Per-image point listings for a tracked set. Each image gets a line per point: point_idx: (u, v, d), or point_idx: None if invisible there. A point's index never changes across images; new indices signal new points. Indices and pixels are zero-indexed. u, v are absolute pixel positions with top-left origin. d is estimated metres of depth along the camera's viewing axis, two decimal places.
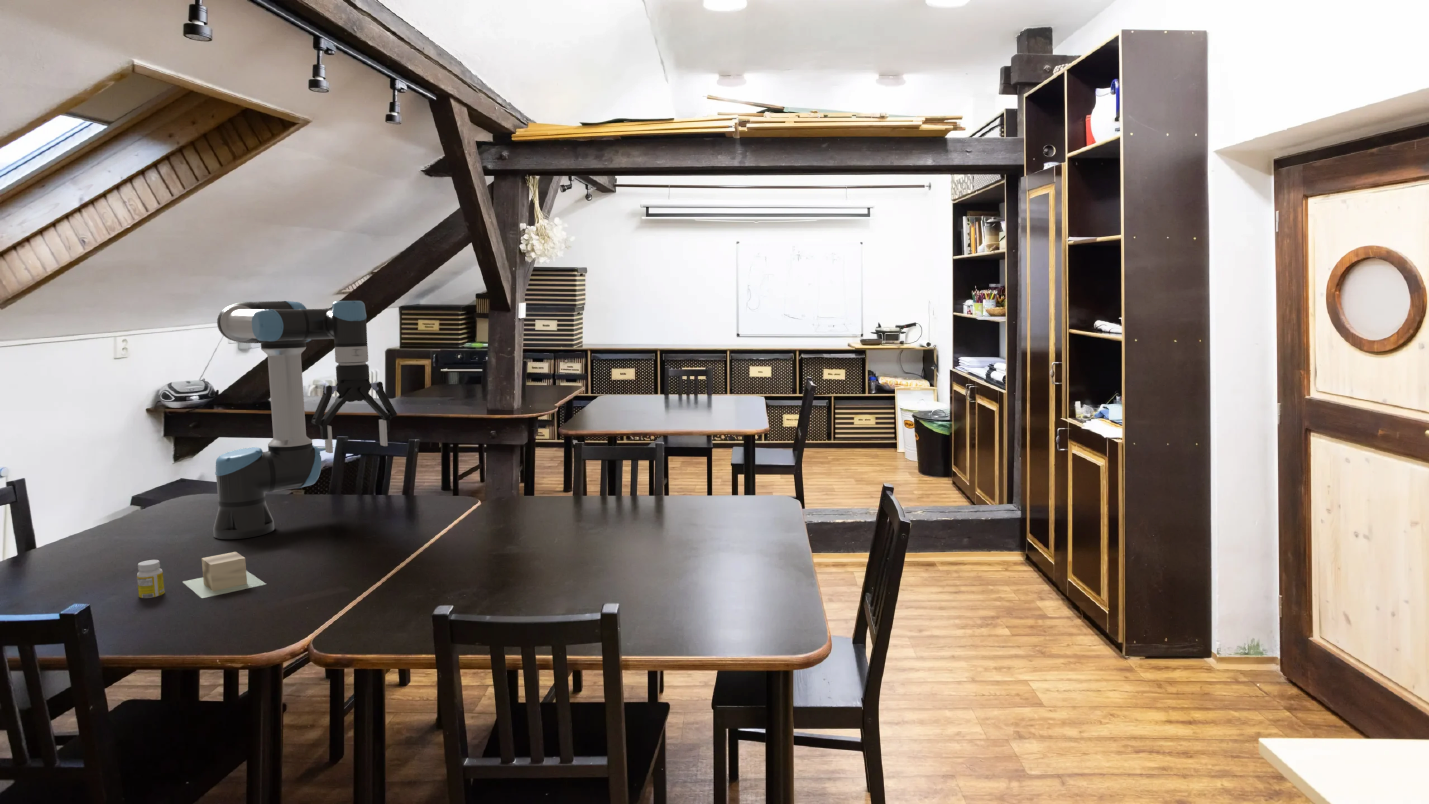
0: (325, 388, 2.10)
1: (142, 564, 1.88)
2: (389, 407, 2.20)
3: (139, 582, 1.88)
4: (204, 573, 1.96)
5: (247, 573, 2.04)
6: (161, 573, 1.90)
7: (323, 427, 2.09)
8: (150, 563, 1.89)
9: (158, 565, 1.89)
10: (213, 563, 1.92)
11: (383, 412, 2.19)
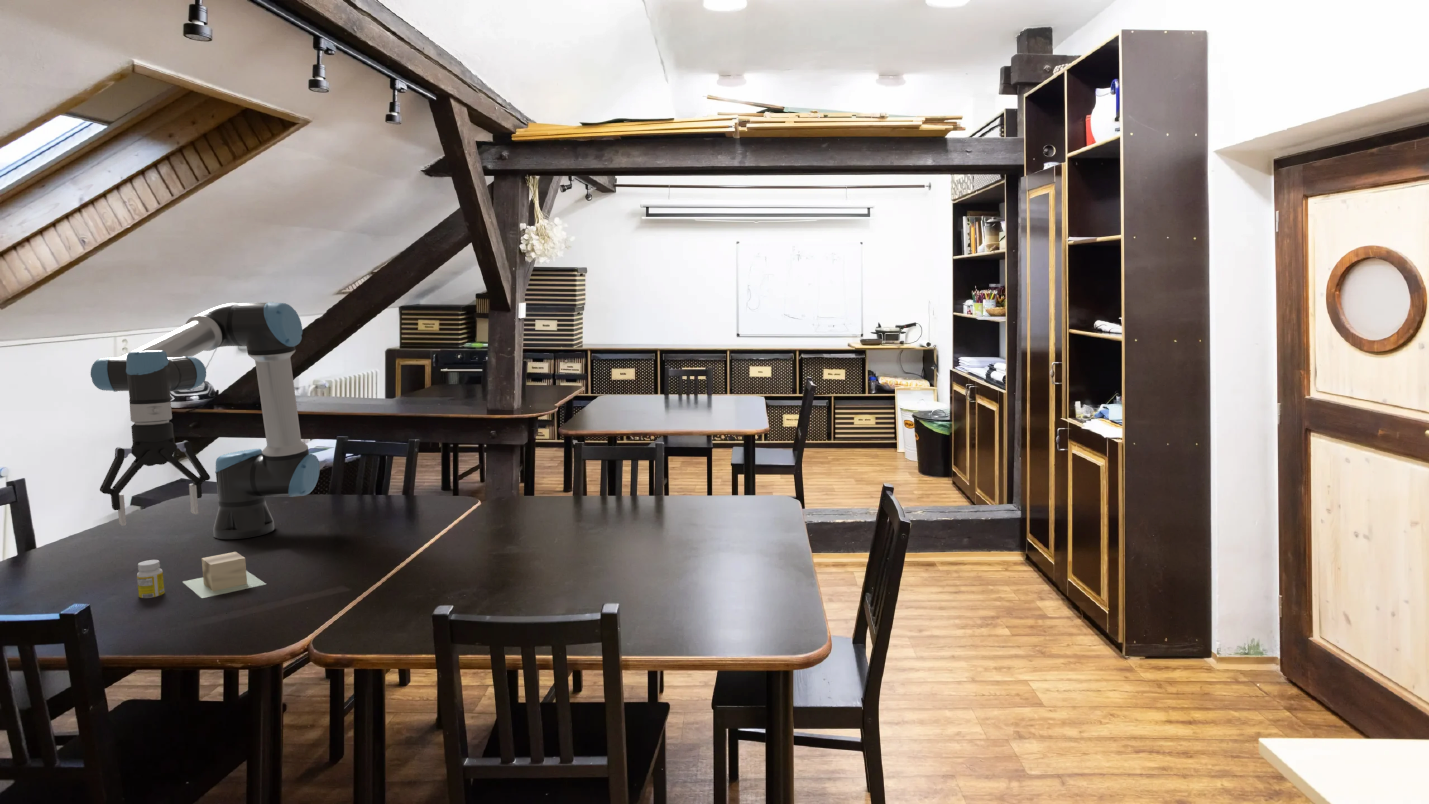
0: (116, 451, 1.83)
1: (142, 564, 1.88)
2: (200, 470, 1.94)
3: (139, 582, 1.88)
4: (204, 573, 1.96)
5: (247, 573, 2.04)
6: (161, 573, 1.90)
7: (113, 496, 1.83)
8: (150, 563, 1.89)
9: (158, 565, 1.89)
10: (213, 563, 1.92)
11: (192, 476, 1.93)
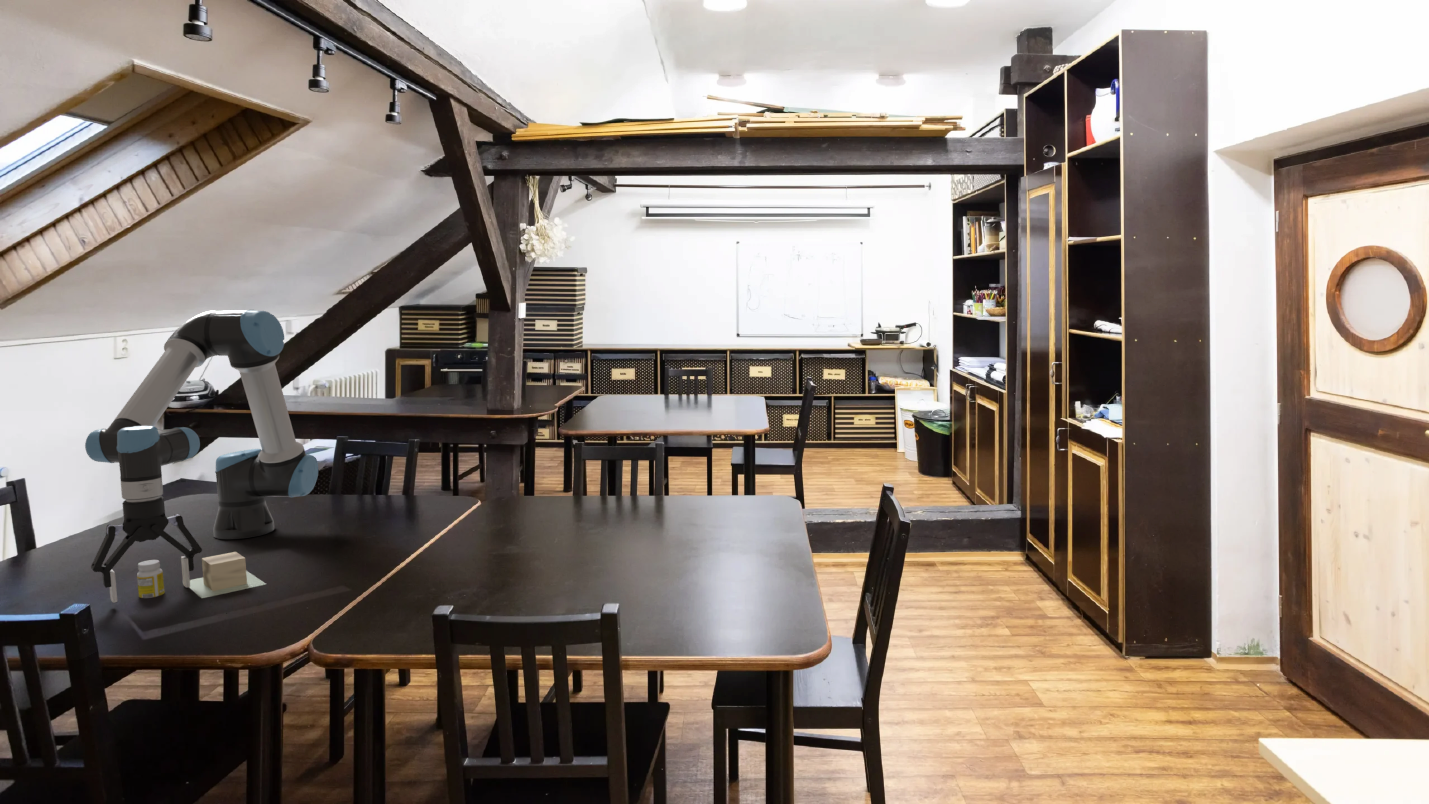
0: (107, 529, 1.84)
1: (142, 564, 1.88)
2: (192, 543, 1.94)
3: (139, 582, 1.88)
4: (204, 573, 1.96)
5: (247, 573, 2.04)
6: (161, 573, 1.90)
7: (104, 574, 1.83)
8: (150, 563, 1.89)
9: (158, 565, 1.89)
10: (213, 563, 1.92)
11: (184, 549, 1.93)
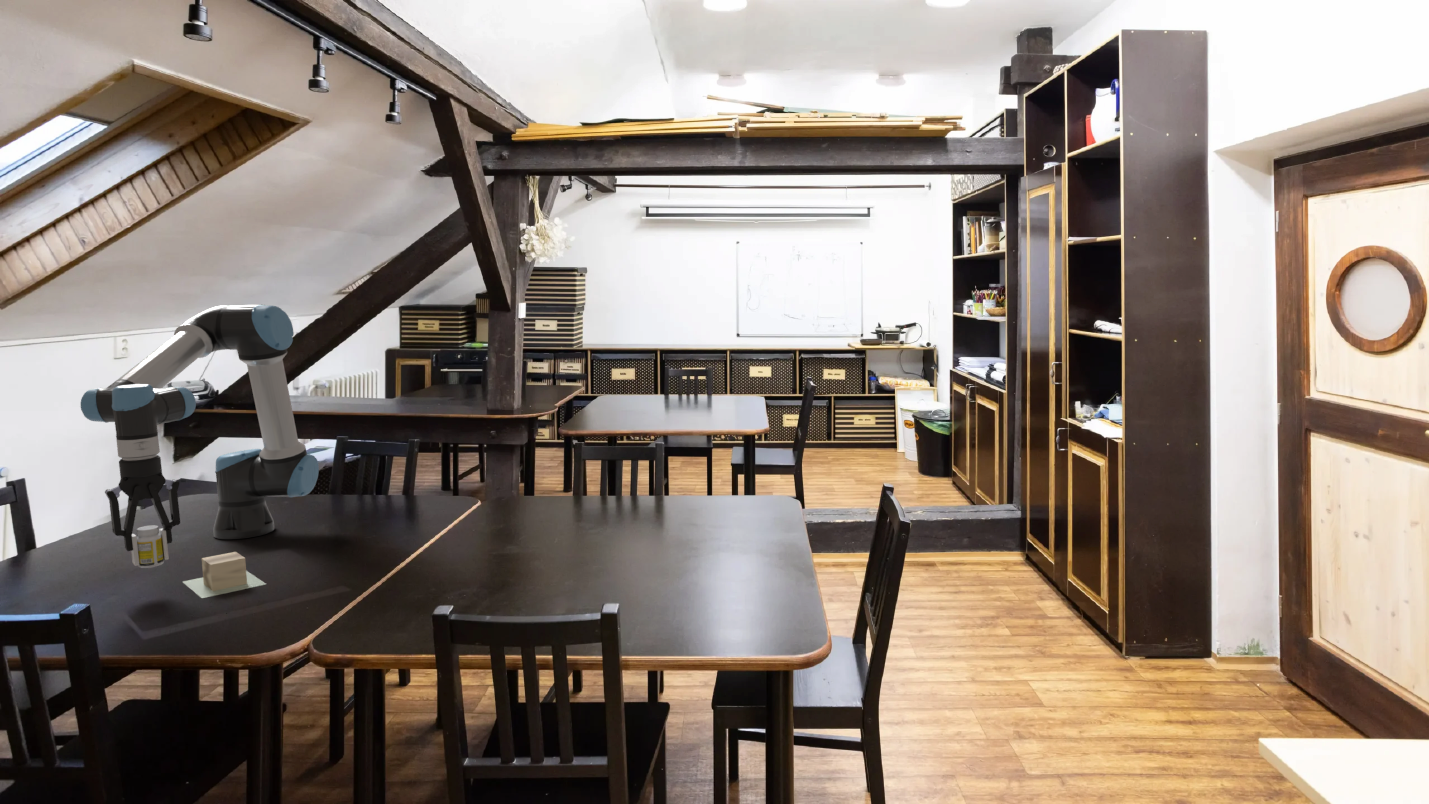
0: (106, 495, 1.83)
1: (141, 529, 1.88)
2: (174, 512, 1.91)
3: (138, 547, 1.87)
4: (204, 573, 1.96)
5: (247, 573, 2.04)
6: (160, 538, 1.90)
7: (126, 537, 1.86)
8: (149, 528, 1.88)
9: (156, 530, 1.89)
10: (213, 563, 1.92)
11: (165, 519, 1.90)
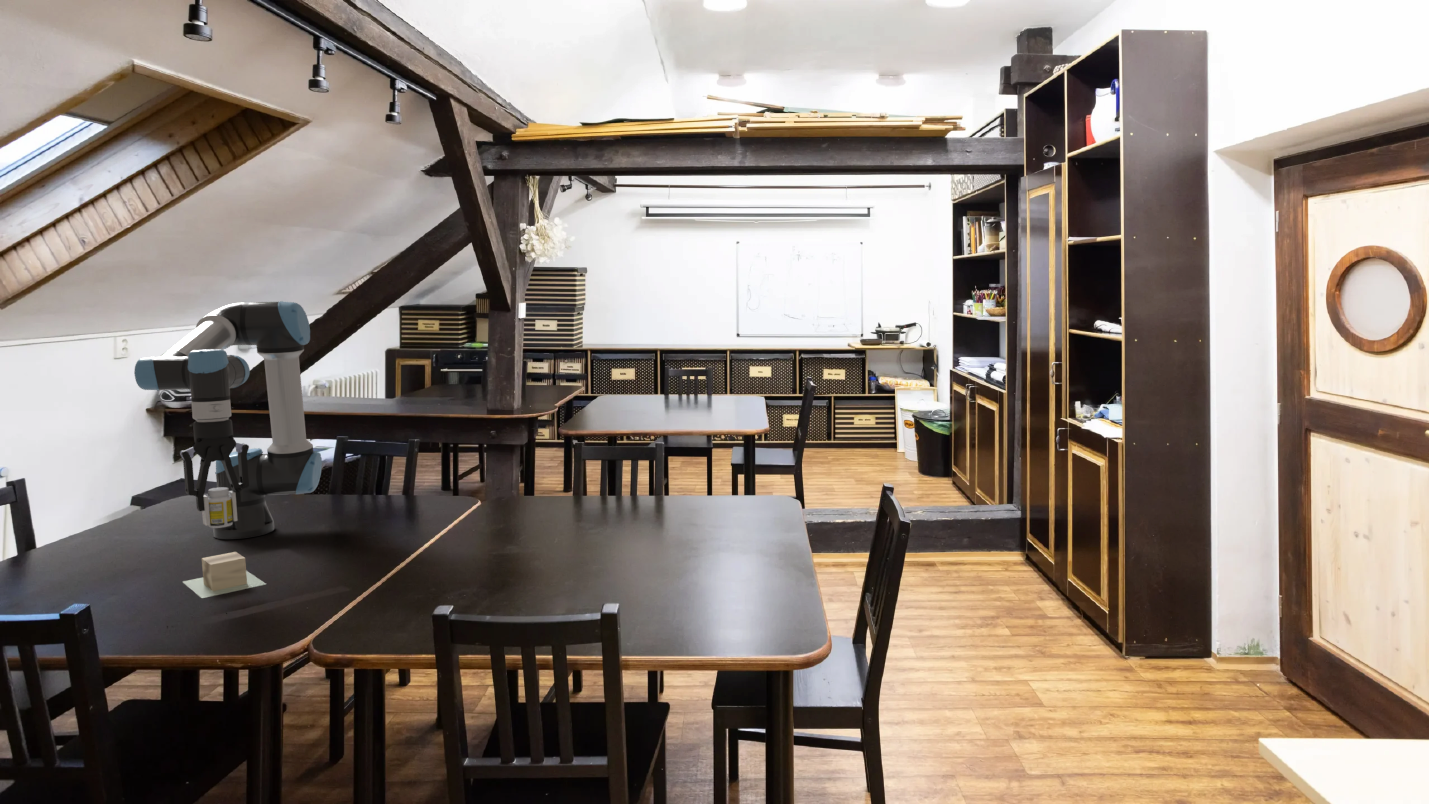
0: (181, 455, 1.89)
1: (212, 490, 1.93)
2: (243, 475, 1.97)
3: (209, 507, 1.92)
4: (204, 573, 1.96)
5: (247, 573, 2.04)
6: (230, 500, 1.95)
7: (199, 498, 1.91)
8: (220, 489, 1.93)
9: (227, 491, 1.94)
10: (213, 563, 1.92)
11: (235, 481, 1.96)
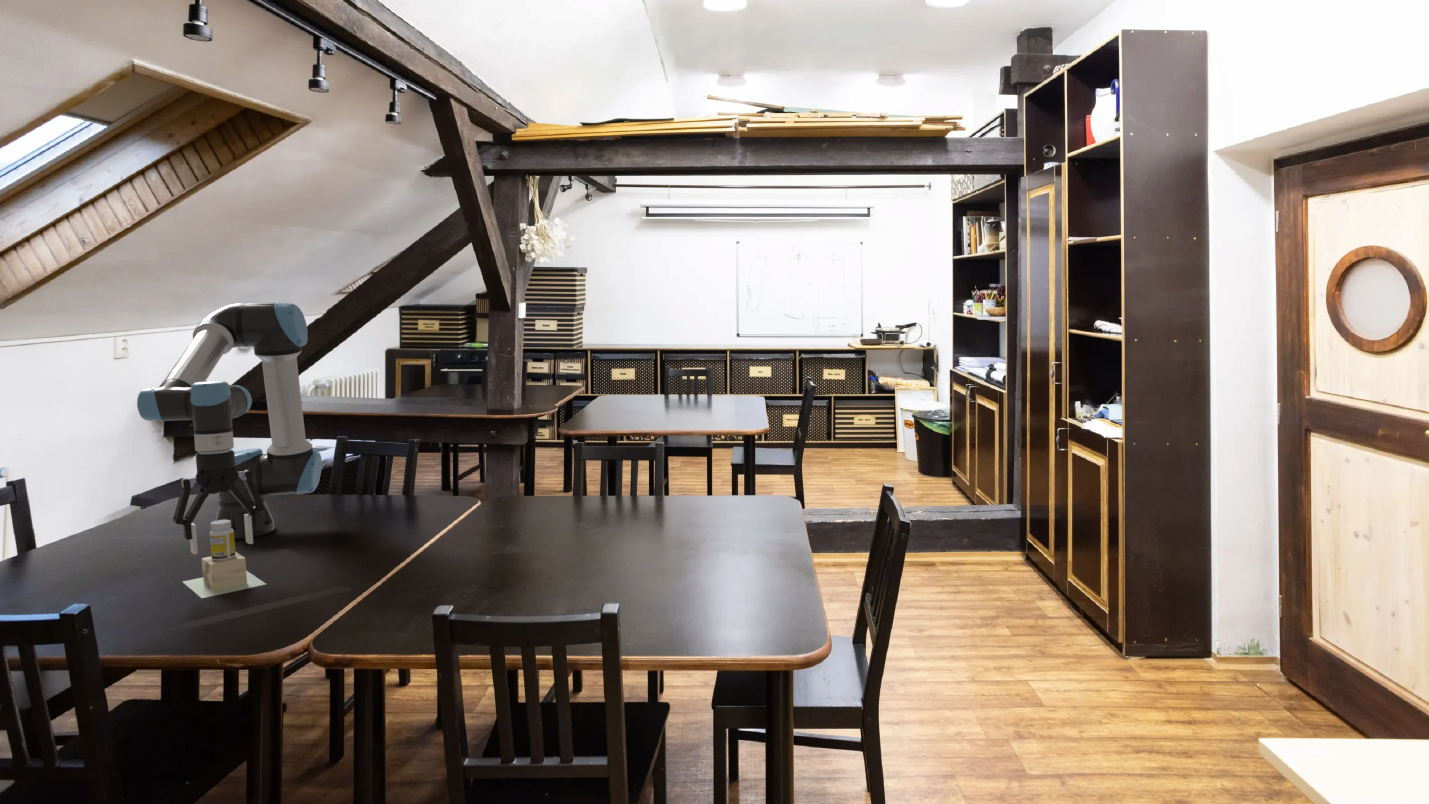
0: (182, 483, 1.89)
1: (215, 523, 1.94)
2: (256, 500, 1.99)
3: (212, 540, 1.93)
4: (204, 573, 1.96)
5: (247, 573, 2.04)
6: (232, 532, 1.96)
7: (186, 526, 1.90)
8: (222, 522, 1.94)
9: (229, 524, 1.95)
10: (213, 563, 1.92)
11: (248, 506, 1.98)
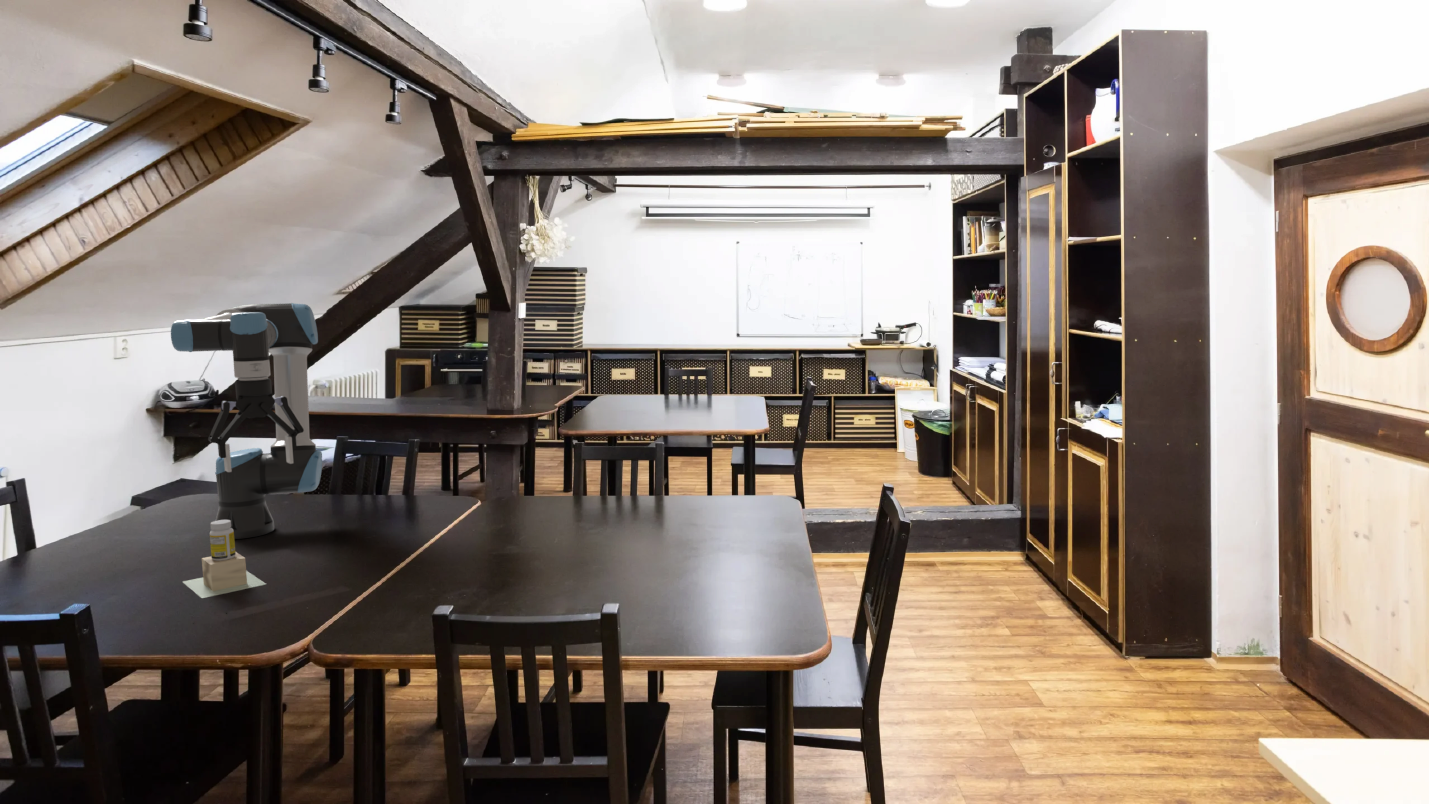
0: (222, 404, 2.00)
1: (215, 523, 1.94)
2: (295, 423, 2.11)
3: (212, 540, 1.93)
4: (204, 573, 1.96)
5: (247, 573, 2.04)
6: (232, 532, 1.96)
7: (220, 445, 2.00)
8: (222, 522, 1.94)
9: (229, 524, 1.95)
10: (213, 563, 1.92)
11: (288, 428, 2.10)
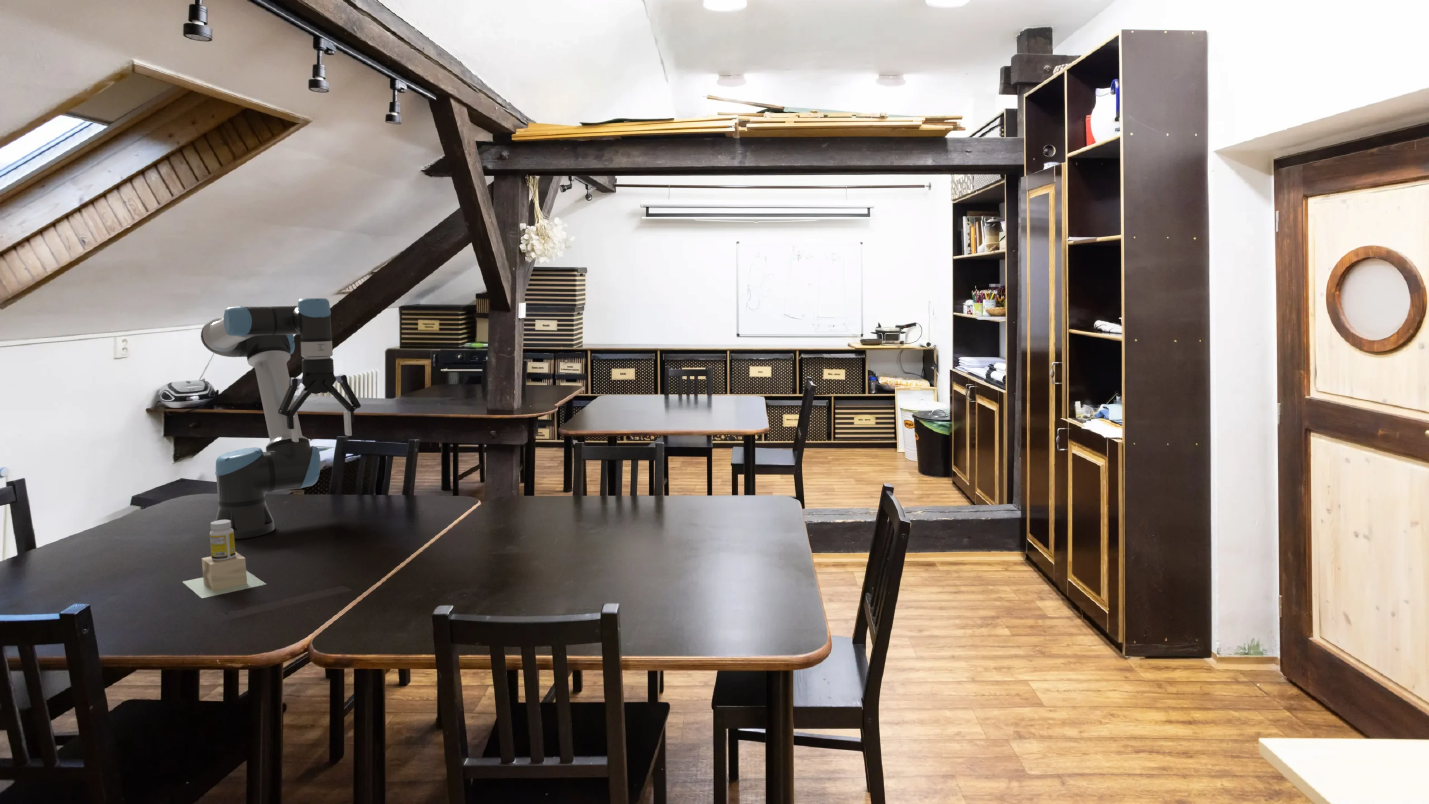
0: (291, 381, 2.22)
1: (215, 523, 1.94)
2: (353, 399, 2.33)
3: (212, 540, 1.93)
4: (204, 573, 1.96)
5: (247, 573, 2.04)
6: (232, 532, 1.96)
7: (289, 417, 2.22)
8: (222, 522, 1.94)
9: (229, 524, 1.95)
10: (213, 563, 1.92)
11: (347, 404, 2.32)
